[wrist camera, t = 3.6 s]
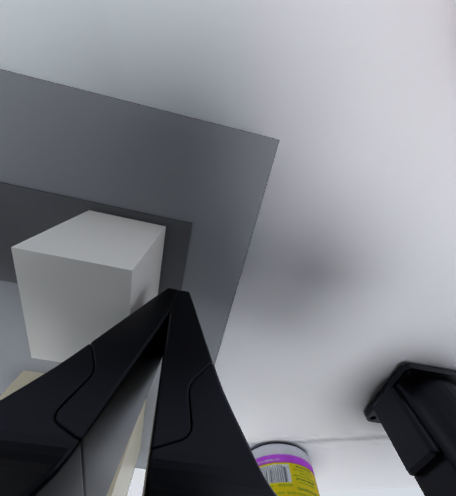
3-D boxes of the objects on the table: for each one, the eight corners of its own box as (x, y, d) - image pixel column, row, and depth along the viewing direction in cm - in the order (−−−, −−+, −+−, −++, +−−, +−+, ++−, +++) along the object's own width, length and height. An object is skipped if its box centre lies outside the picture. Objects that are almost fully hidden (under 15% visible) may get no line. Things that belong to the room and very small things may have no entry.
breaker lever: (166, 226, 9) (132, 270, 6) (156, 304, 11) (126, 372, 8) (89, 210, 9) (10, 247, 6) (91, 293, 11) (31, 357, 7)
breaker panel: (266, 140, 11) (283, 139, 7) (189, 429, 20) (181, 484, 17) (-164, 32, 9) (-380, -29, 6) (-26, 400, 19) (-80, 454, 16)
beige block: (147, 388, 14) (100, 527, 9) (139, 450, 16) (101, 581, 12) (23, 370, 13) (-102, 507, 8) (37, 437, 16) (-49, 570, 11)
